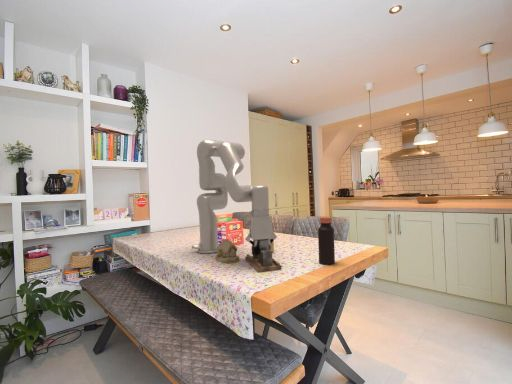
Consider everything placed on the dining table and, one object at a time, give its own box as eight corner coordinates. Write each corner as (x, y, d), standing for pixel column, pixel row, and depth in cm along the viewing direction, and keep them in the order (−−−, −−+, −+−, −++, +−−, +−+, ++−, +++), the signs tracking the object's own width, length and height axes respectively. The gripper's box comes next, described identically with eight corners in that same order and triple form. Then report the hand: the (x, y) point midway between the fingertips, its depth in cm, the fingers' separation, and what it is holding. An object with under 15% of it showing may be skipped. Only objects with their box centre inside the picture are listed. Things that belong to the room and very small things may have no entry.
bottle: (327, 266, 115) (326, 219, 114) (315, 262, 120) (314, 217, 120) (338, 262, 119) (337, 217, 118) (325, 259, 124) (324, 216, 124)
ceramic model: (211, 258, 133) (210, 238, 133) (230, 254, 140) (230, 235, 139) (224, 265, 122) (224, 243, 121) (245, 260, 128) (245, 239, 128)
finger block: (259, 259, 117) (258, 240, 117) (255, 256, 123) (254, 238, 122) (269, 258, 118) (268, 240, 118) (264, 255, 124) (264, 237, 124)
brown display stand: (258, 272, 109) (257, 254, 109) (245, 259, 129) (245, 244, 128) (281, 269, 112) (280, 251, 112) (265, 257, 131) (265, 242, 131)
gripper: (244, 215, 114) (245, 258, 114) (281, 213, 119) (282, 254, 119) (239, 213, 121) (241, 254, 121) (275, 211, 126) (276, 250, 126)
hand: (261, 254), depth 120 cm, fingers closed on finger block, 4 cm apart
